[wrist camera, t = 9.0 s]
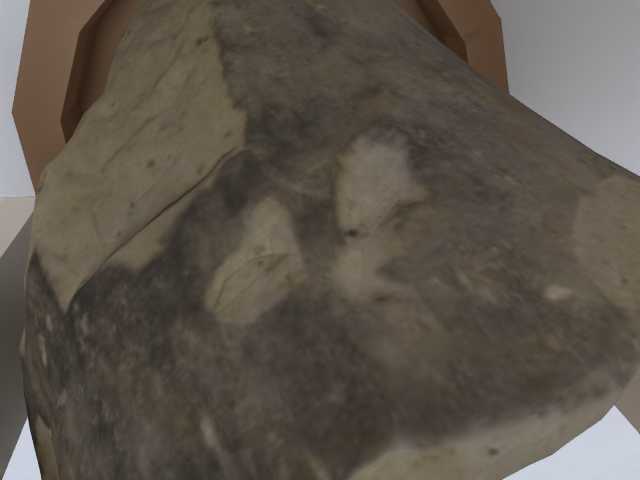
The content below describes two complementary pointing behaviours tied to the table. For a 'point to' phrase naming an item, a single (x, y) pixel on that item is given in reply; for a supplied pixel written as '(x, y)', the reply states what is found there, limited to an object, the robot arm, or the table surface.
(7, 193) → the table surface
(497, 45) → the round tray
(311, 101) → the grey brown rock
